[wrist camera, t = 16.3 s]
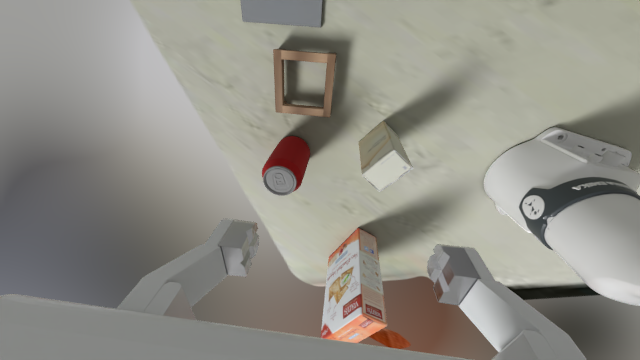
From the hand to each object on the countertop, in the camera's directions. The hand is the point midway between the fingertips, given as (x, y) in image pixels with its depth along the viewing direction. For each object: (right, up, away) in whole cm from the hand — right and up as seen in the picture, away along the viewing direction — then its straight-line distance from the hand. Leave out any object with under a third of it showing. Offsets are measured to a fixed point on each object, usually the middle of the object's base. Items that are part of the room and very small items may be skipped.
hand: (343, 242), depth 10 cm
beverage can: (-6, +9, +36) cm, 38 cm away
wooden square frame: (-3, +20, +29) cm, 35 cm away
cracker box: (+7, -15, +49) cm, 52 cm away
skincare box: (+10, +11, +33) cm, 36 cm away
